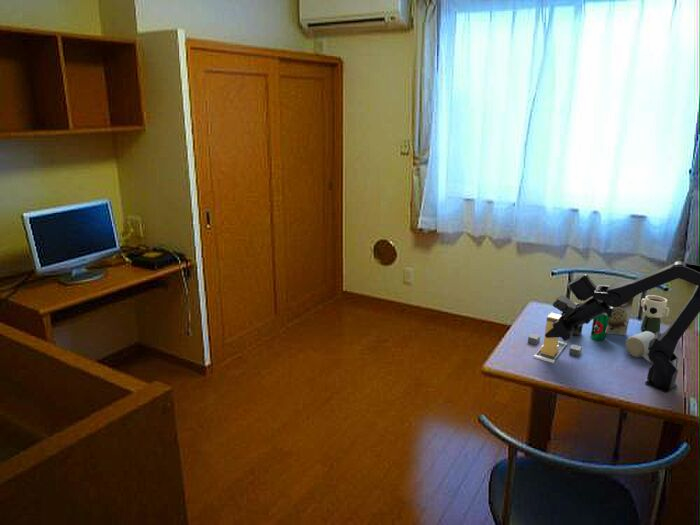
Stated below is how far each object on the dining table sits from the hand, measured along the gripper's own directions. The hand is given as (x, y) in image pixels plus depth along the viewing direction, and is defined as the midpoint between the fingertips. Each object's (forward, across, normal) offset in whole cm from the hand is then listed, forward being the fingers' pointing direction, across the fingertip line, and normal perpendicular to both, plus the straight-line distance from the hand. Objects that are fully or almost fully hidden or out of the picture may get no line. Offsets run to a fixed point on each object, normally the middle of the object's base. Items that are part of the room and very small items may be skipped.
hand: (547, 333), depth 177 cm
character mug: (-13, -42, +24) cm, 50 cm away
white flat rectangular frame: (+4, -1, +6) cm, 8 cm away
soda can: (-3, -22, +14) cm, 26 cm away
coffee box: (-5, -34, +16) cm, 38 cm away
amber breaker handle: (+4, 0, +6) cm, 7 cm away
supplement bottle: (+3, -21, +8) cm, 23 cm away
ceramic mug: (-14, -19, +25) cm, 34 cm away
